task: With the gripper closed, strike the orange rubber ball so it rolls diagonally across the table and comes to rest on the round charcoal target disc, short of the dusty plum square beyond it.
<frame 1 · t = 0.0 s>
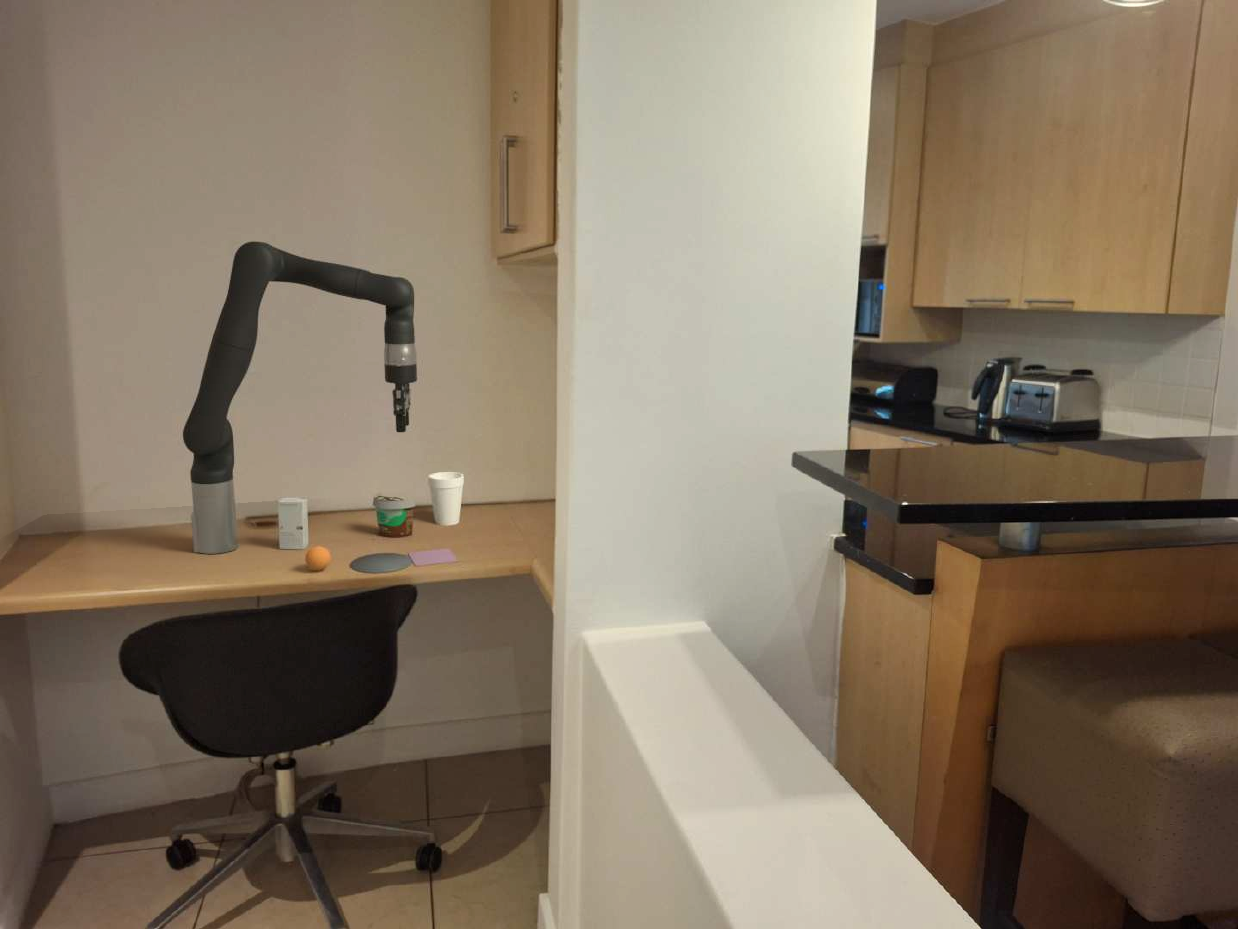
hand: (402, 428, 216), 29 cm above the table, tool pointing down, fingers open, 8 cm apart
ball: (318, 558, 202), on the table
foam cup: (447, 522, 242), on the table
food container: (390, 536, 229), on the table
far mark: (432, 557, 212), on the table
white box: (294, 547, 219), on the table
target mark: (381, 563, 208), on the table
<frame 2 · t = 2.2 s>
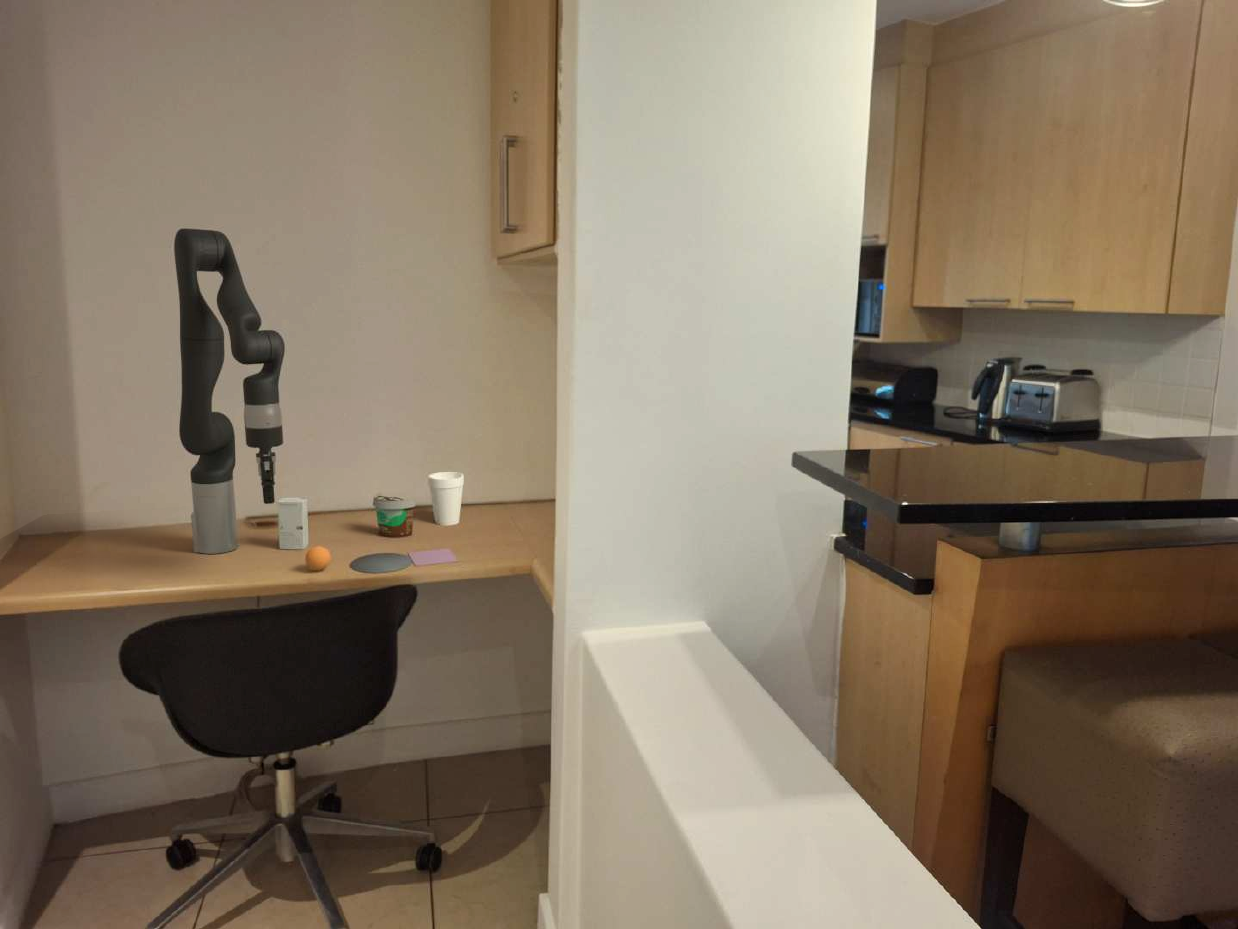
hand: (268, 500, 195), 17 cm above the table, tool pointing down, fingers open, 4 cm apart
nothing on the table moved.
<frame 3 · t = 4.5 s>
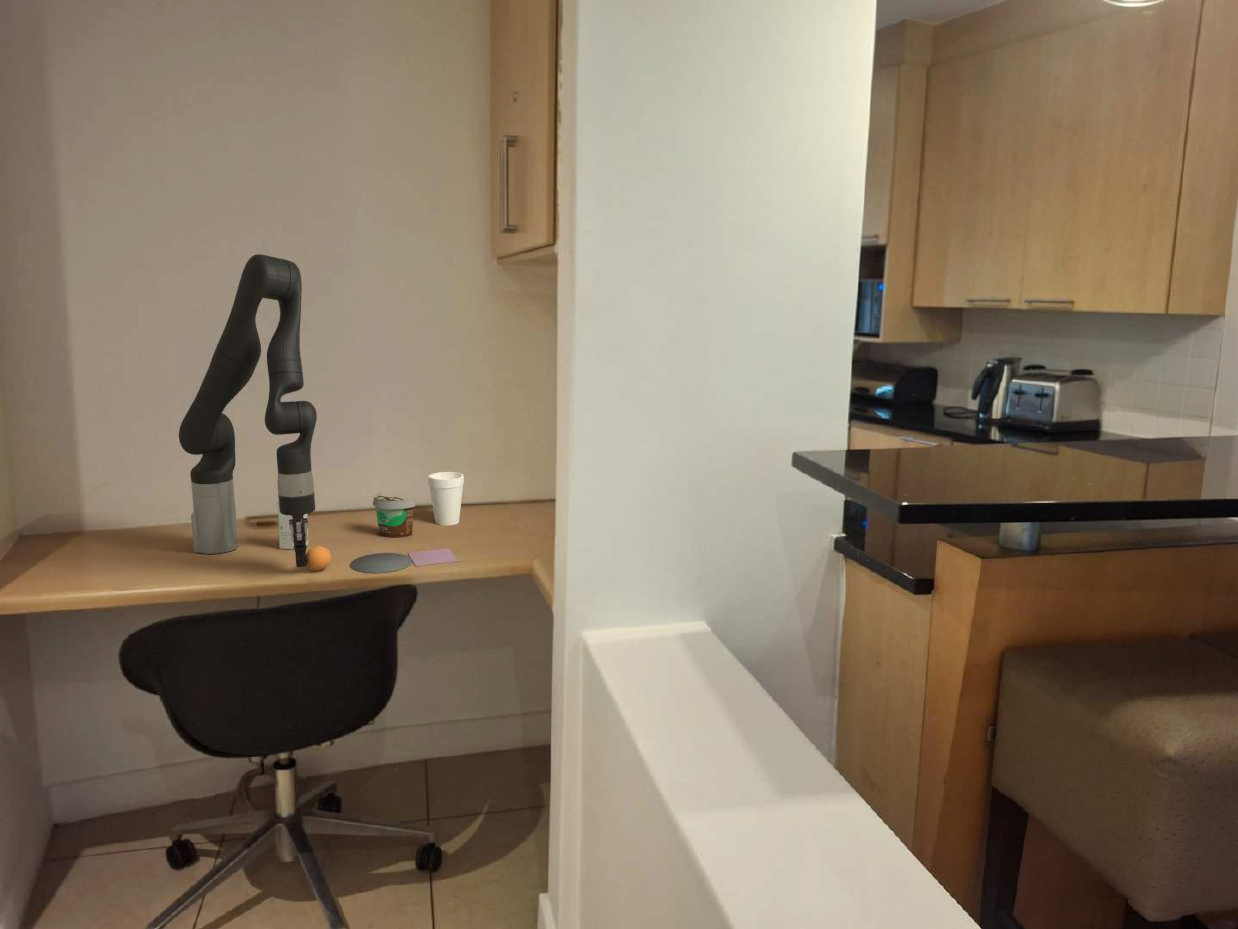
hand: (301, 565, 200), 2 cm above the table, tool pointing down, fingers closed
ball: (318, 558, 202), on the table, touching gripper
everything else where it was.
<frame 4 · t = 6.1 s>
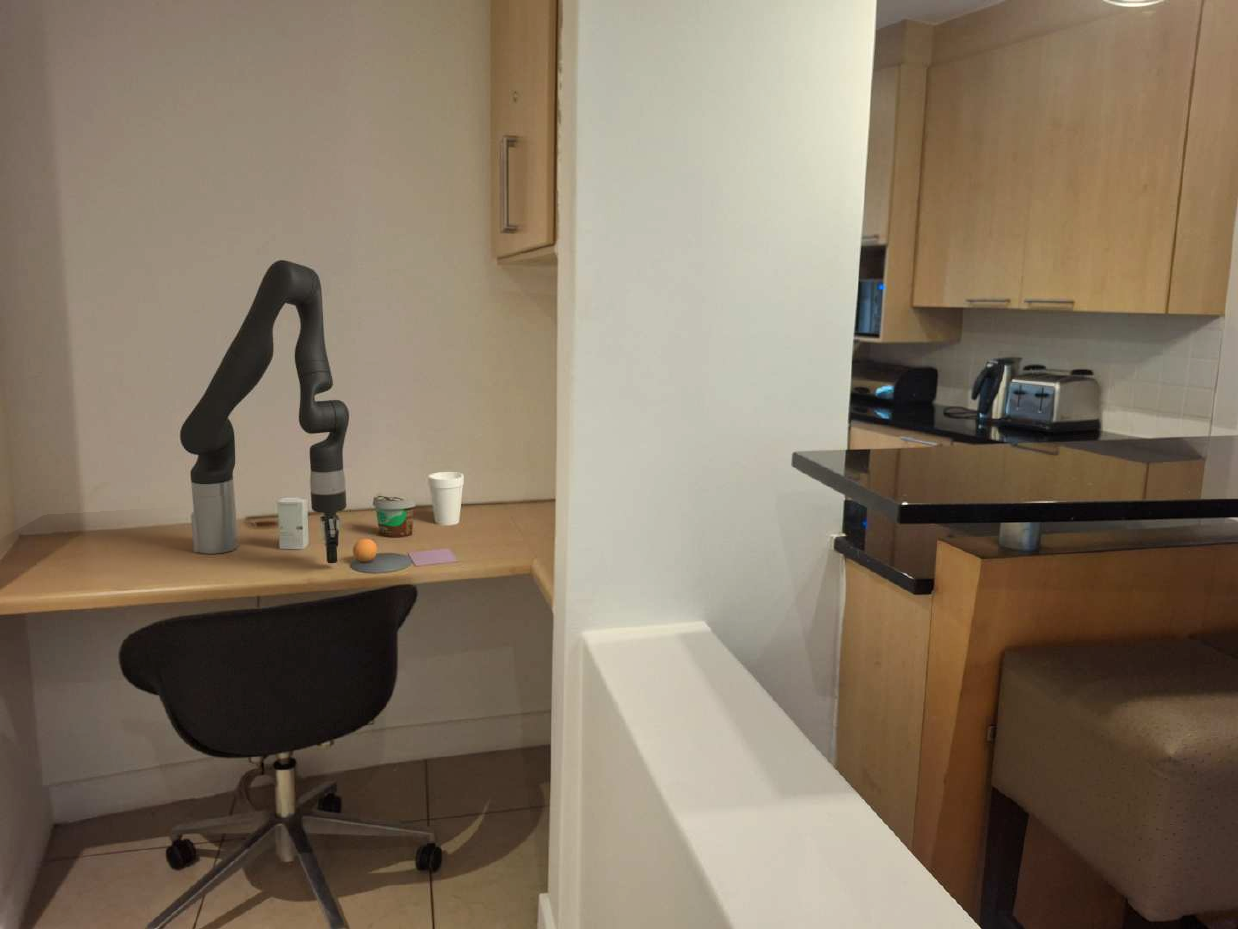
hand: (332, 562, 203), 1 cm above the table, tool pointing down, fingers closed
ball: (365, 550, 208), on the table
everything else where it was.
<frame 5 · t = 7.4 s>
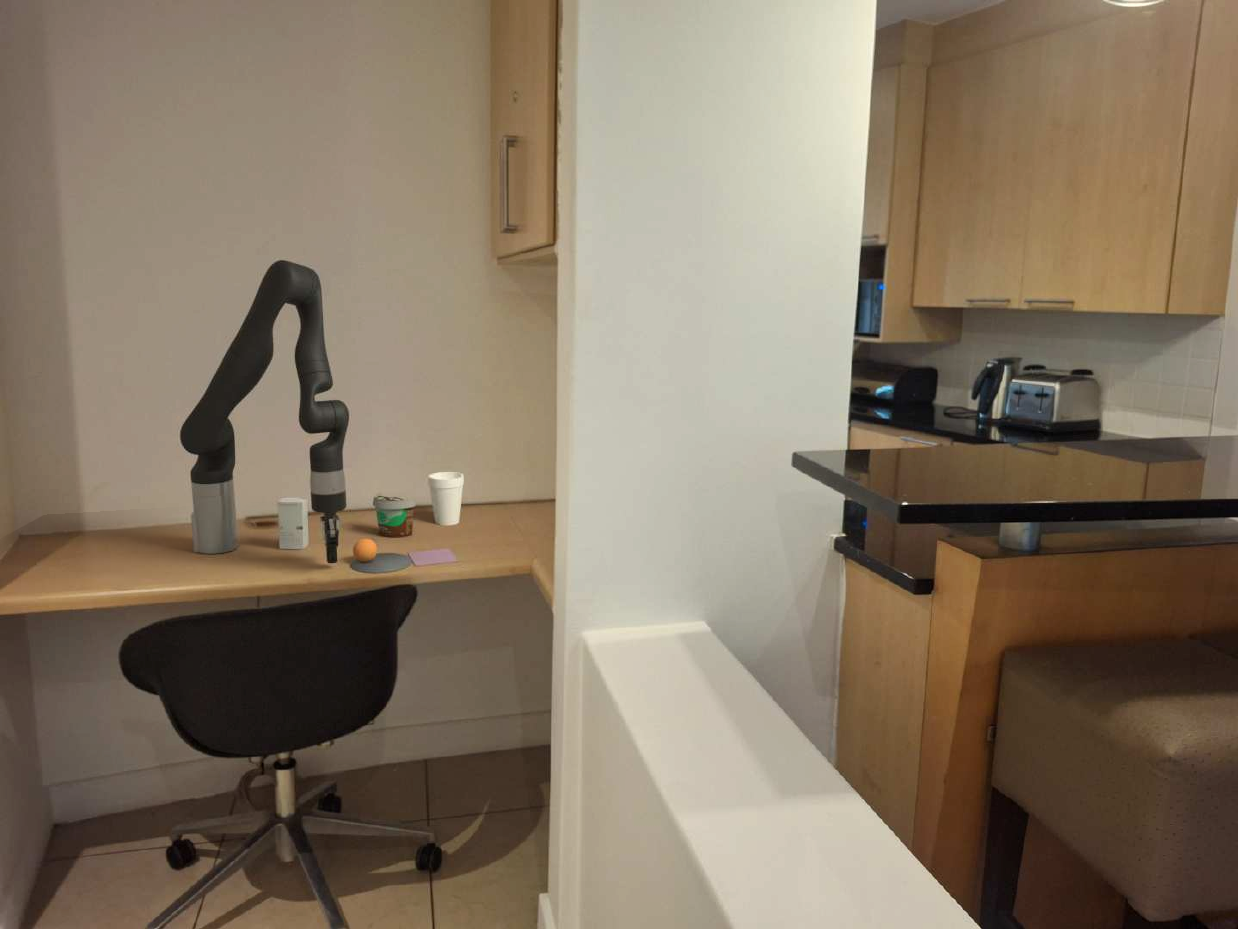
hand: (332, 562, 203), 1 cm above the table, tool pointing down, fingers closed
nothing on the table moved.
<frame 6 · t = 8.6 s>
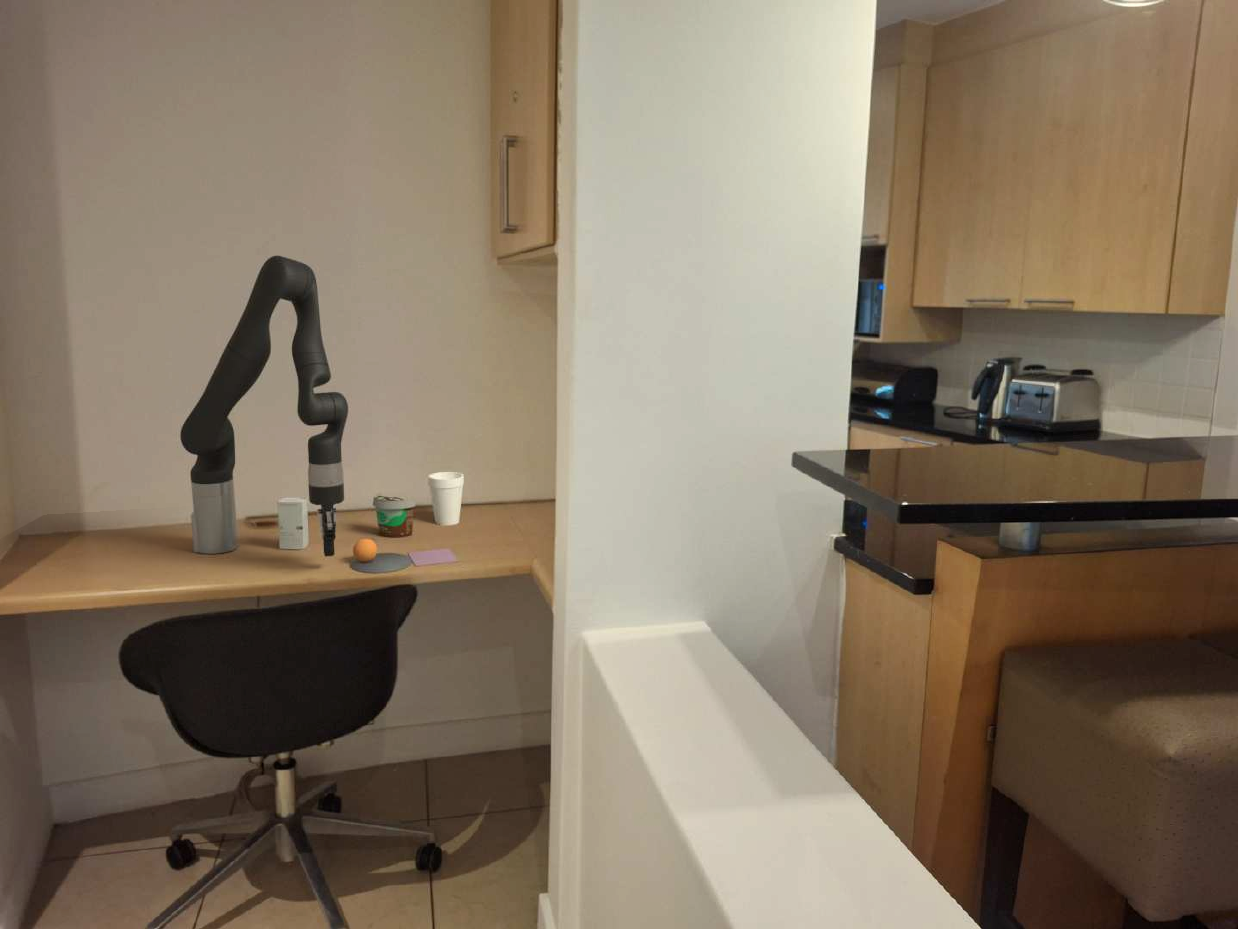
hand: (329, 555, 202), 3 cm above the table, tool pointing down, fingers closed
nothing on the table moved.
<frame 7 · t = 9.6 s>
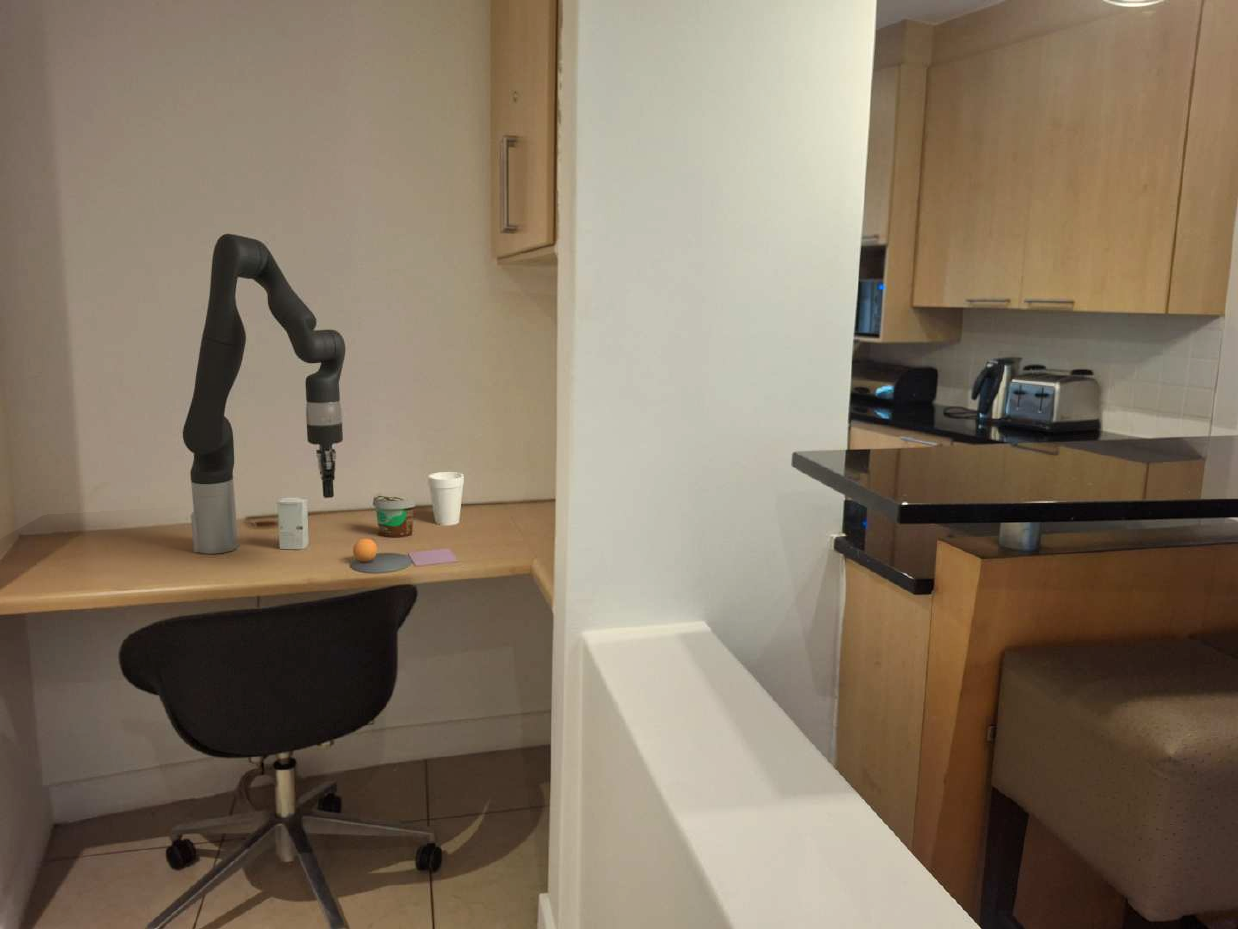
hand: (328, 496, 200), 17 cm above the table, tool pointing down, fingers closed
nothing on the table moved.
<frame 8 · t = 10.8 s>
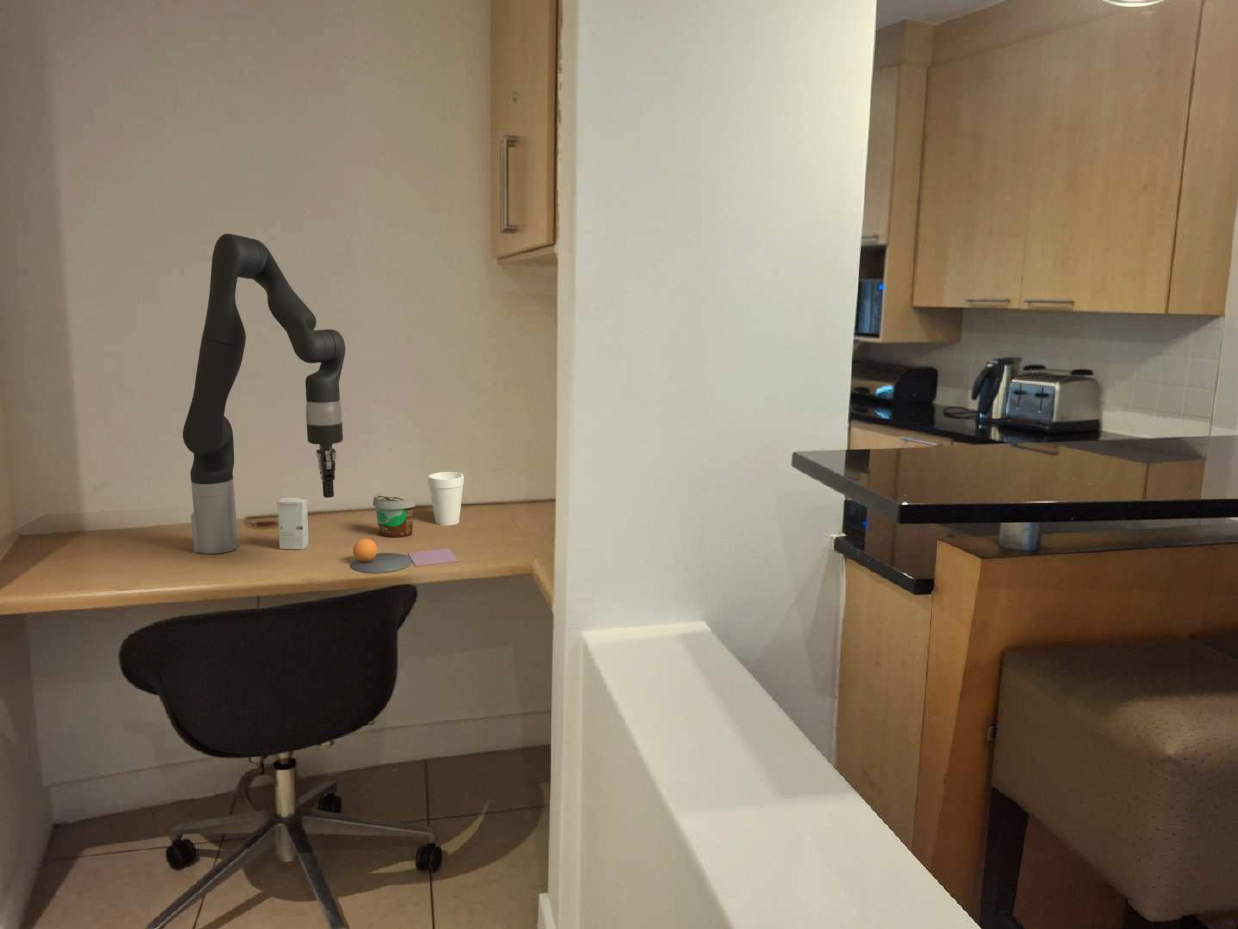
hand: (328, 496, 200), 17 cm above the table, tool pointing down, fingers closed
nothing on the table moved.
at the end: ball 4.1 cm from the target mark (horizontally); ball at rest at the end (0.0 cm/s); ball moved 10.9 cm from its start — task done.
